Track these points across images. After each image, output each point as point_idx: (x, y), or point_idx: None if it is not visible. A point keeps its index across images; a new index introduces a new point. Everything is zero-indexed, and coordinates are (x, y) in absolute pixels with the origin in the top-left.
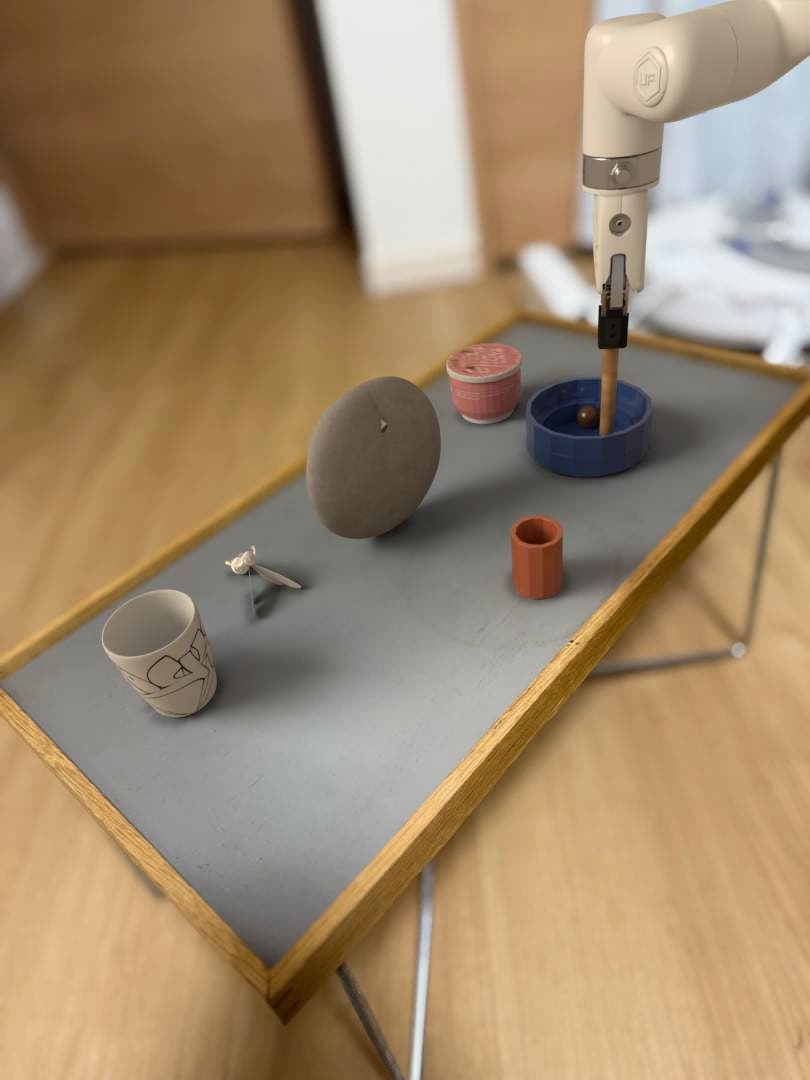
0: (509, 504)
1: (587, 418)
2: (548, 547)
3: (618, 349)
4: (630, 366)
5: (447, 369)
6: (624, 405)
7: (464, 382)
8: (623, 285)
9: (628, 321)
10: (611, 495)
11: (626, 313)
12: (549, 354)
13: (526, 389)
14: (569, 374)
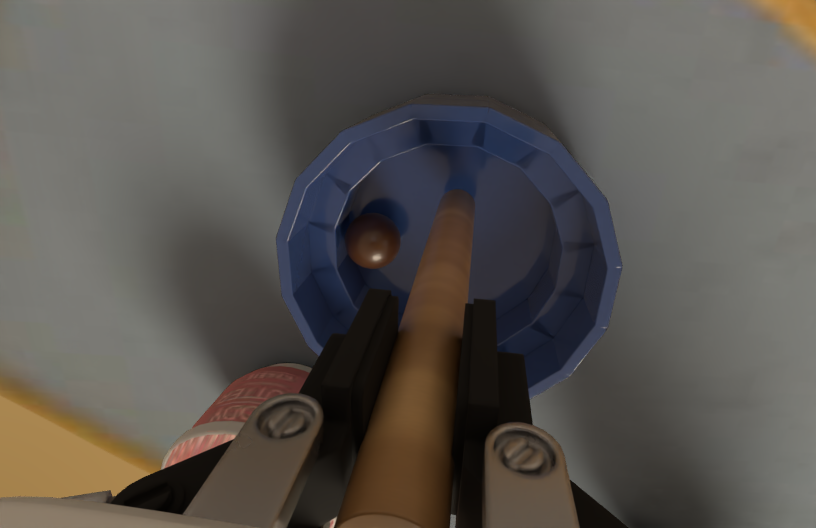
0: (642, 389)
1: (395, 249)
2: None
3: (446, 305)
4: (69, 99)
5: None
6: (352, 159)
7: None
8: (282, 522)
9: (497, 376)
10: (658, 200)
11: (561, 455)
12: (50, 281)
13: (210, 335)
14: (133, 247)
